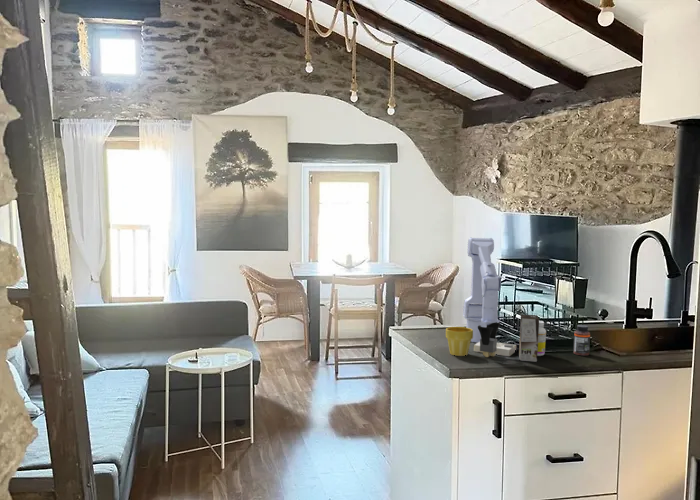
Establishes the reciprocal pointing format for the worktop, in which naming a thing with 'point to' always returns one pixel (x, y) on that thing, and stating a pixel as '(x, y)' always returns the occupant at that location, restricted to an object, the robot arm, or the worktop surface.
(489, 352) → the plug
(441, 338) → the worktop surface
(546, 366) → the worktop surface
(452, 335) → the plant pot
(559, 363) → the worktop surface
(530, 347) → the coffee box
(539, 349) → the supplement bottle
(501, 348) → the socket
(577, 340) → the supplement bottle
